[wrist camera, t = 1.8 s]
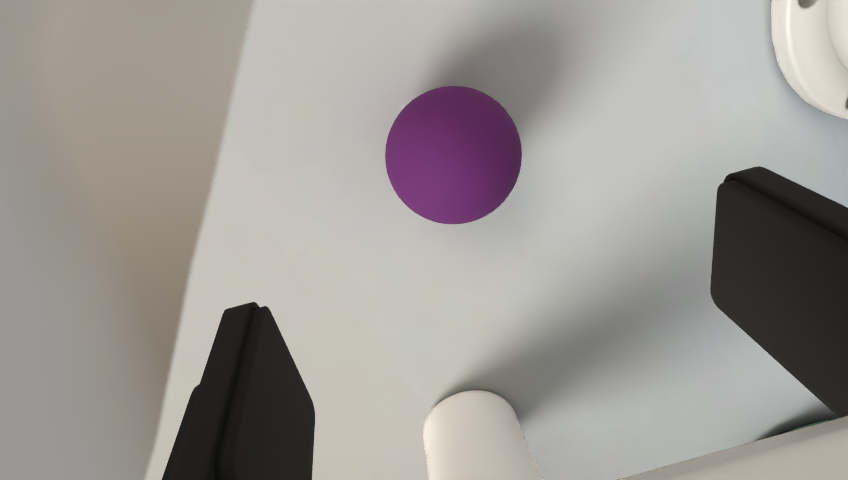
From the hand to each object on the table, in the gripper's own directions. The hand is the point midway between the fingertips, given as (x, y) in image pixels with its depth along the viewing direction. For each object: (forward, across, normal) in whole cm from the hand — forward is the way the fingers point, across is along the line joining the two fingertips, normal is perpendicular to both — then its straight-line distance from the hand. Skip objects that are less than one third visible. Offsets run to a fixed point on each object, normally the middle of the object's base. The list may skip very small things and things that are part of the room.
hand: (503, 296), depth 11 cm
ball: (+10, -1, 0) cm, 10 cm away
